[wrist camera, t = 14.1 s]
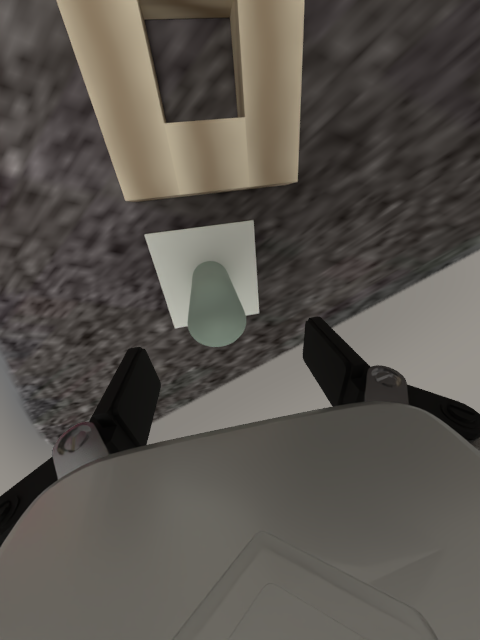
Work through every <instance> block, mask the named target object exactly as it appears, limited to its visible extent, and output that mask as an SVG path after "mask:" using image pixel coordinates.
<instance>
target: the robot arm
mask: <svg viewBox="0 0 480 640" xmlns="http://www.w3.org/2000/svg"><path fill="white" fill-rule="evenodd" d="M303 359H304V361H305V363H306V365H307V366H308V368H309V369H310V371H311V373H312V374H313V376H314V377H315V379H316V381H317V382H318V384H319V385H320V387H321V389H322V390H323V392H324V393H325V395H326V397H327V398H328V400H329V401H330V403H331V405H332V406H333V407H329V408H323V409H318V410H312V411H307V412H303V413H298V414H293V415H288V416H283V417H278V418H273V419H268V420H263V421H258V422H253V423H249V424H243V425H239V426H235V427H229V428H224V429H219V430H214V431H210V432H205V433H200V434H196V435H191V436H186V437H181V438H177V439H173V440H167V441H163V442H158V443H154V444H149V445H146V444H147V440H148V436H149V432H150V428H151V424H152V420H153V416H154V412H155V408H156V404H157V400H158V396H159V392H160V388H161V383H160V380H159V378H158V376H157V374H156V371H155V369H154V367H153V365H152V363H151V361H150V358H149V356H148V354H147V352H146V350H145V349H142V348H141V347H136V348H130V349H128V350H127V352H126V354H125V356H124V358H123V360H122V362H121V363H120V365H119V367H118V369H117V371H116V373H115V375H114V376H113V378H112V380H111V382H110V384H109V386H108V387H107V389H106V391H105V393H104V395H103V397H102V399H101V401H100V402H99V404H98V406H97V408H96V410H95V412H94V414H93V415H92V417H91V419H90V421H89V422H82V423H79V424H77V425H75V426H73V427H71V428H70V429H69V430H67V431H66V432H65V433H64V434H63V435H62V436H61V437H60V438H59V439H58V440H57V442H56V443H55V445H54V447H53V450H52V457H51V458H50V459H49V460H48V461H46V462H45V463H44V464H42V465H41V466H39V467H38V468H37V469H36V470H34V471H33V472H32V473H30V474H29V475H28V476H26V477H25V478H24V479H22V480H21V481H20V482H19V483H17V484H16V485H15V486H13V487H12V488H11V489H9V490H8V491H7V492H5V493H4V494H3V495H2V496H0V640H480V414H479V413H478V412H476V411H475V410H474V409H472V408H470V407H469V406H467V405H465V404H463V403H460V402H458V401H455V400H452V399H449V398H446V397H443V396H440V395H437V394H434V393H431V392H428V391H425V390H422V389H419V388H416V387H413V386H410V385H407V383H406V380H405V378H404V377H403V376H402V375H401V374H400V373H399V372H397V371H396V370H394V369H391V368H389V367H386V366H372V367H370V366H369V365H368V364H367V363H366V362H365V361H364V360H363V359H362V358H361V357H360V356H359V355H358V354H357V353H356V352H355V351H354V350H353V349H352V348H351V347H350V346H349V345H348V344H347V343H346V342H345V341H344V340H343V339H342V338H341V337H340V336H339V335H338V334H337V333H335V331H334V330H333V329H332V328H331V327H330V326H329V325H328V324H327V323H326V322H325V321H324V320H323V319H322V318H321V317H313V318H309V319H308V321H306V324H305V335H304V346H303Z"/></svg>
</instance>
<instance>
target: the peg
mask: <svg viewBox="0 0 480 640" xmlns="http://www.w3.org/2000/svg"><path fill="white" fill-rule="evenodd" d="M245 326H246V315H245V312H244V309H243V307H242V305H241V302H240V300H239V298H238V296H237V293H236V291H235V289H234V286H233V284H232V282H231V279H230V277H229V275H228V273H227V271H226V269H225V268H224V267H223V266H222V265H221V264H219V263H217V262H214V261H206V262H203V263H201V264H200V265H198V266H197V267H196V269H195V270H194V272H193V277H192V286H191V295H190V304H189V313H188V329H189V332H190V334H191V335H192V337H193V338H194V339H195V340H196V341H198V342H199V343H201V344H203V345H206V346H210V347H221V346H225V345H228V344H230V343H232V342H234V341H235V340H237V339H238V338H239V337H240V336H241V334H242V333H243V331H244V329H245Z"/></svg>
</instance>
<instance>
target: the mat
mask: <svg viewBox="0 0 480 640" xmlns="http://www.w3.org/2000/svg"><path fill="white" fill-rule="evenodd" d="M144 235H145V238H146V241H147V244H148V248H149V251H150V254H151V257H152V260H153V263H154V266H155V269H156V272H157V275H158V278H159V281H160V284H161V287H162V290H163V293H164V296H165V299H166V303H167V306H168V309H169V312H170V315H171V318H172V321H173V324H174V327H175V328H180V327H185V326H188V313H189V304H190V295H191V286H192V277H193V272H194V270H195V269H196V267H197V266H198V265H200V264H201V263H203V262H206V261H214V262H217V263H219V264H221V265H222V266H223V267H224V268H225V269H226V271H227V273H228V275H229V277H230V279H231V282H232V284H233V286H234V289H235V291H236V293H237V296H238V298H239V300H240V302H241V305H242V307H243V309H244V312H245V315H246V316H247V315H252V314H258V313H259V301H258V284H257V268H256V252H255V235H254V220H249V221H241V222H234V223H226V224H218V225H211V226H203V227H195V228H188V229H180V230H172V231H165V232H157V233H149V234H144Z"/></svg>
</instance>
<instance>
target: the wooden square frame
mask: <svg viewBox="0 0 480 640" xmlns="http://www.w3.org/2000/svg"><path fill="white" fill-rule="evenodd" d="M57 3H58V6H59V9H60V12H61V15H62V18H63V21H64V24H65V26H66V29H67V32H68V35H69V38H70V41H71V44H72V47H73V50H74V53H75V55H76V58H77V61H78V64H79V67H80V70H81V73H82V76H83V79H84V82H85V85H86V87H87V90H88V93H89V96H90V99H91V102H92V105H93V108H94V111H95V114H96V116H97V119H98V122H99V125H100V128H101V131H102V134H103V137H104V140H105V143H106V146H107V148H108V151H109V154H110V157H111V160H112V163H113V166H114V169H115V172H116V175H117V177H118V180H119V183H120V186H121V189H122V192H123V195H124V198H125V201H130V202H140V201H149V200H158V199H167V198H175V197H184V196H193V195H202V194H211V193H220V192H228V191H237V190H246V189H255V188H264V187H272V186H281V185H288V184H291V183H295V182H298V158H299V132H300V105H301V79H302V53H303V27H304V0H57ZM228 17H230V24H231V37H232V49H233V62H234V75H235V87H236V100H237V113H238V118H228V119H215V120H202V121H188V122H175V123H166V118H165V113H164V109H163V104H162V99H161V95H160V90H159V85H158V81H157V76H156V71H155V67H154V62H153V58H152V53H151V48H150V44H149V39H148V34H147V30H146V25H145V19H186V18H228Z"/></svg>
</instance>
